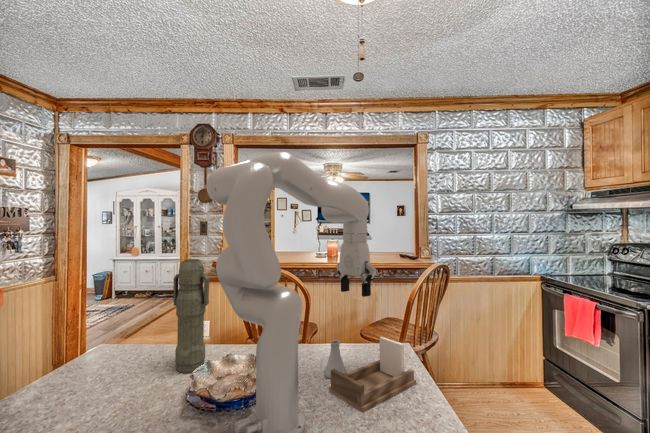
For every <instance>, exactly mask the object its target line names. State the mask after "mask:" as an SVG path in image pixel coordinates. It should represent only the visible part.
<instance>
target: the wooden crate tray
mask: <svg viewBox="0 0 650 433" xmlns="http://www.w3.org/2000/svg"><path fill="white" fill-rule="evenodd" d="M416 385H417V379H415V370H413V369H411V368H410V369H408V370H404V372H403V373H401V374H399V375H397V376H395V377H393V376H391V375H389V374H386V373H384V372H382V371H380V359H378V360H376V361H373V362H371V363H368V364H366V365H363V366H361V367H359V368H356V369H354V370H351V371H348V372H346V374H343V373H341V372H339V371H337V370H335V369H333V370H331V379H330V387H329V388H328V392H329V393H331V394H332V395H334V396H336V397H337V398H339V399H341V400H342V401H344V402H345V403H347V404H349V405H350V406H352V407H353V408H355V409H357V410H359V411H360V412H362V413H365V412H367V411H369V410H371V409H372V408H374V407H376V406H378V405H380V404H382V403H384V402H386V401H388V400H389V399H391V398H393V397H396V396H397V395H398V394H401V393H402V392H404V391H406V390H408V389H410V388H412V387H414V386H416Z"/></svg>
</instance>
